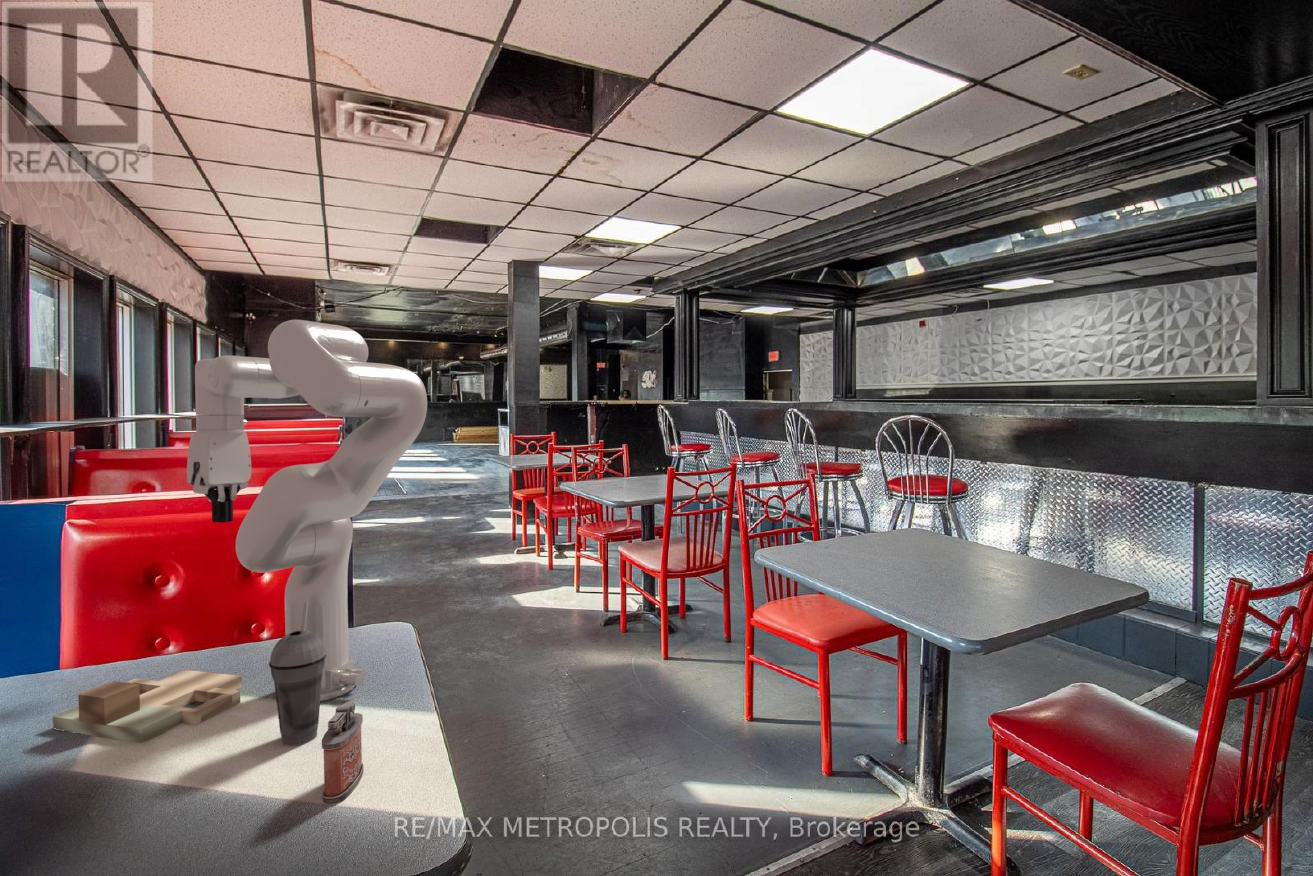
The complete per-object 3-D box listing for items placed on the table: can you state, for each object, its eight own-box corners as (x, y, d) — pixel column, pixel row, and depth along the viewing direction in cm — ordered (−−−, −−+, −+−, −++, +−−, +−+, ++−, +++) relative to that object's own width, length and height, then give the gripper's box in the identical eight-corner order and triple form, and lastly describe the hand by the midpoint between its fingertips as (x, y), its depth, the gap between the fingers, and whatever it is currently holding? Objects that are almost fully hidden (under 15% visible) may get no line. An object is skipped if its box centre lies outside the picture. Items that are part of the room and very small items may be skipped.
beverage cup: (274, 731, 95) (271, 598, 95) (329, 722, 98) (327, 592, 98) (266, 755, 89) (263, 611, 88) (325, 744, 92) (323, 605, 91)
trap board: (265, 690, 110) (265, 678, 110) (155, 745, 92) (155, 731, 92) (164, 678, 115) (164, 667, 115) (40, 728, 97) (40, 715, 97)
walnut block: (140, 710, 98) (139, 684, 98) (104, 725, 93) (104, 698, 93) (115, 706, 99) (114, 681, 99) (79, 721, 95) (78, 694, 95)
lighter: (342, 769, 85) (341, 694, 85) (369, 767, 85) (367, 693, 85) (316, 805, 77) (314, 723, 77) (345, 804, 77) (343, 722, 77)
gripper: (238, 424, 129) (240, 515, 130) (166, 425, 115) (168, 527, 115) (269, 424, 127) (271, 516, 128) (200, 425, 113) (202, 529, 113)
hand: (222, 521), depth 122 cm, fingers closed
